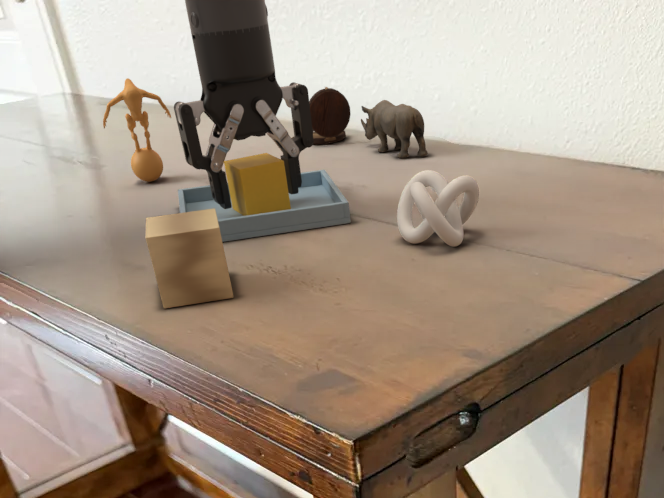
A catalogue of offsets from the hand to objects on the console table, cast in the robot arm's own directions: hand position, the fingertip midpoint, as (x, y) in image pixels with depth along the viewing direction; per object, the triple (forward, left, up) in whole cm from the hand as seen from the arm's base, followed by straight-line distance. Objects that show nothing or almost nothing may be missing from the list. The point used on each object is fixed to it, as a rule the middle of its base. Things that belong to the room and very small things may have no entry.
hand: (259, 199), depth 89 cm
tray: (0, 0, -2) cm, 2 cm away
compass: (+12, +33, -2) cm, 35 cm away
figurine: (-12, +22, -2) cm, 25 cm away
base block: (-8, -21, -2) cm, 22 cm away
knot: (+16, -17, -2) cm, 23 cm away
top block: (0, 0, -1) cm, 1 cm away
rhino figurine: (+20, +22, -2) cm, 30 cm away
